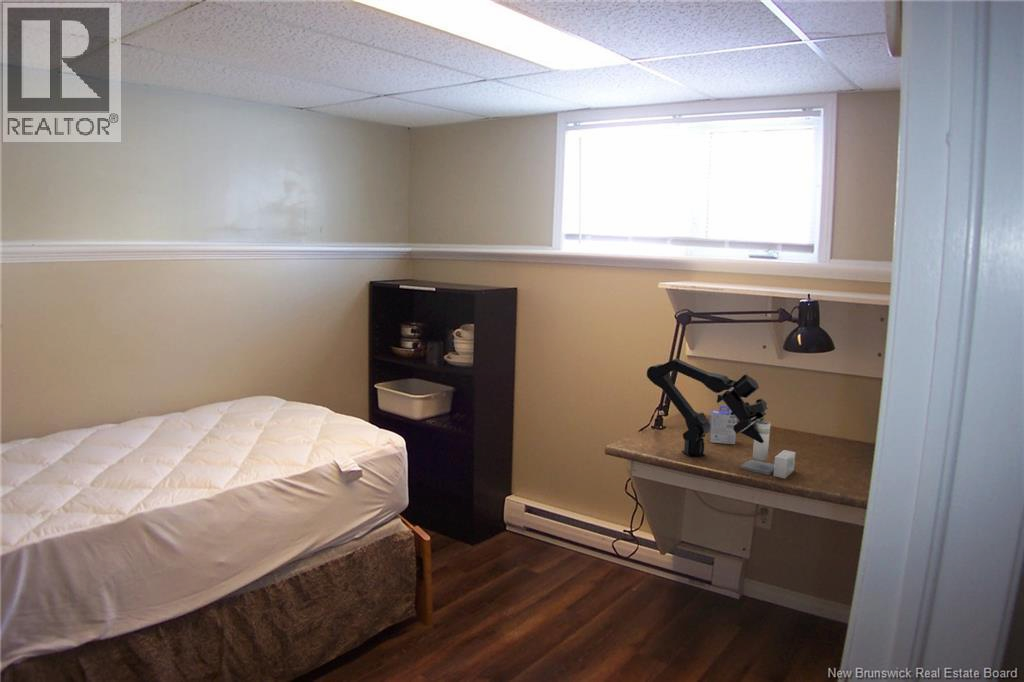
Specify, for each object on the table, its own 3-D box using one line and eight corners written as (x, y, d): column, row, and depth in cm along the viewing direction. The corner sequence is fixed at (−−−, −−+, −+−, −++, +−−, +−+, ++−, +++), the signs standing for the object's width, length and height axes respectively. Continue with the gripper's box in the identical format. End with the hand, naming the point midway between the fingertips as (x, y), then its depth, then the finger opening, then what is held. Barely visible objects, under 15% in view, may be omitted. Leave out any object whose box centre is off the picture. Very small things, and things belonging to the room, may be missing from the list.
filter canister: (754, 459, 252) (757, 424, 249) (751, 455, 256) (754, 420, 254) (768, 460, 251) (772, 425, 249) (765, 456, 256) (768, 421, 254)
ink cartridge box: (734, 440, 288) (736, 406, 285) (735, 444, 282) (738, 409, 280) (709, 439, 290) (711, 404, 287) (710, 442, 284) (712, 407, 282)
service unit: (772, 475, 247) (774, 456, 245) (781, 468, 254) (783, 449, 253) (785, 478, 244) (787, 459, 243) (794, 471, 252) (795, 452, 251)
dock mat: (740, 468, 253) (740, 466, 253) (750, 462, 261) (750, 459, 261) (769, 475, 247) (769, 472, 247) (778, 467, 255) (778, 465, 255)
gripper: (744, 396, 245) (774, 434, 240) (762, 388, 260) (791, 422, 255) (720, 415, 251) (749, 451, 246) (739, 405, 266) (767, 439, 261)
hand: (765, 440), depth 252 cm, fingers closed on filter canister, 5 cm apart
